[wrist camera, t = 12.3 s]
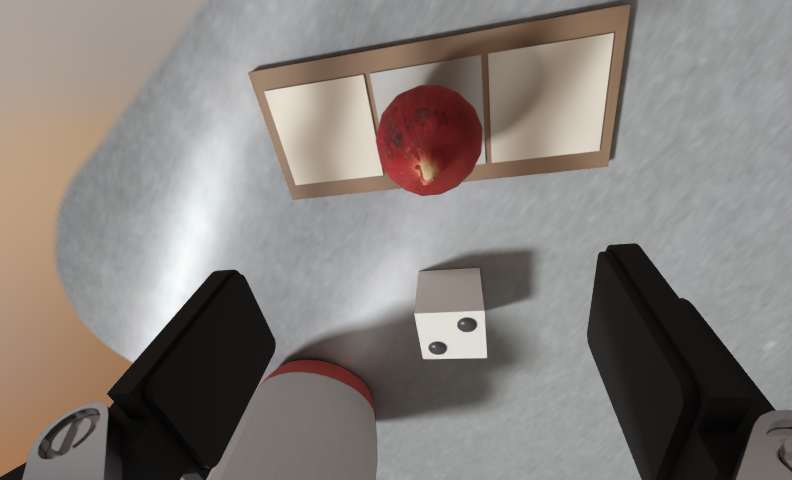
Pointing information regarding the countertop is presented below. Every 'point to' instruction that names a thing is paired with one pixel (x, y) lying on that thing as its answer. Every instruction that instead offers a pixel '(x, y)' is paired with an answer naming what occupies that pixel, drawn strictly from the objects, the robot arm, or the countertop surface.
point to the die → (450, 314)
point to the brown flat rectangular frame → (474, 80)
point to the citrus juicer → (304, 428)
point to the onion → (429, 139)
